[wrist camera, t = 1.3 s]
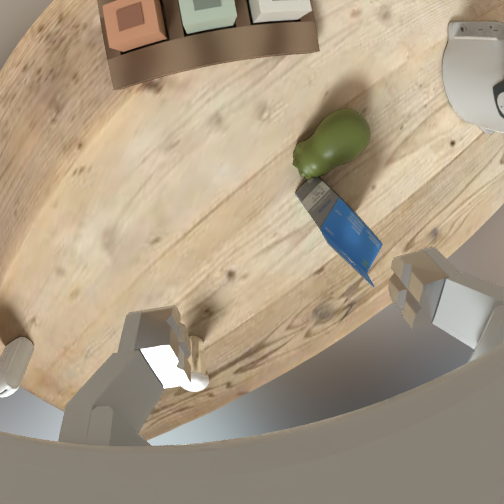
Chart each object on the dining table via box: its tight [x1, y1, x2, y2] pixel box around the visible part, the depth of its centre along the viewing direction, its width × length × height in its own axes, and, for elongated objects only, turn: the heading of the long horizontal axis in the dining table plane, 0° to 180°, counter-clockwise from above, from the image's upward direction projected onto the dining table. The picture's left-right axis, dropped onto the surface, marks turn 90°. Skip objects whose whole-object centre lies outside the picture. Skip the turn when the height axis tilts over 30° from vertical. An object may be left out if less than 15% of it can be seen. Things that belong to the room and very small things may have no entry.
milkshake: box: [180, 336, 209, 392], centre depth 44 cm, size 4×5×10 cm
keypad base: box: [98, 0, 320, 90], centre depth 23 cm, size 21×12×3 cm, turn 99°
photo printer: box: [0, 337, 34, 397], centre depth 40 cm, size 10×4×12 cm, turn 117°
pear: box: [293, 108, 371, 179], centre depth 32 cm, size 6×5×10 cm
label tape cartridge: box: [295, 176, 382, 287], centre depth 33 cm, size 9×4×12 cm, turn 47°
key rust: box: [102, 0, 167, 52], centre depth 20 cm, size 4×4×5 cm
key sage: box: [179, 0, 237, 34], centre depth 20 cm, size 4×4×5 cm
